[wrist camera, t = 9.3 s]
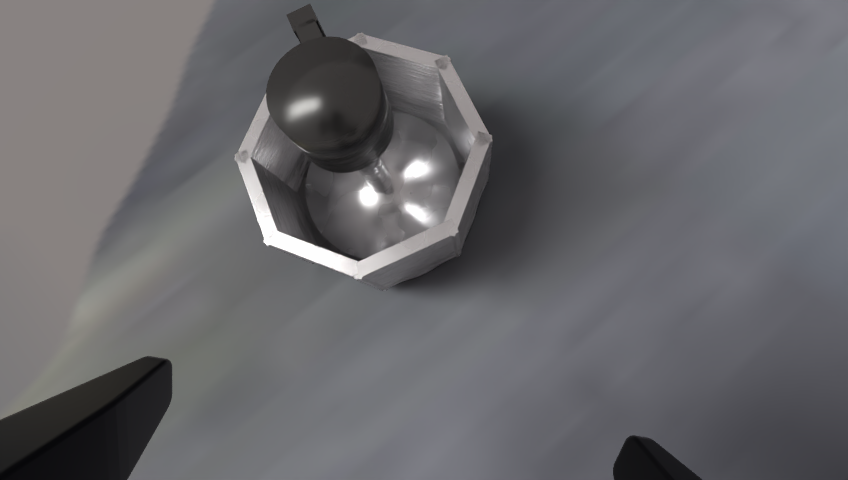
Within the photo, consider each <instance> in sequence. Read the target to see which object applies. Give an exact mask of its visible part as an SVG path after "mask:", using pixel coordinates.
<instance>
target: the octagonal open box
mask: <svg viewBox="0 0 848 480" xmlns="http://www.w3.org/2000/svg"><path fill="white" fill-rule="evenodd" d="M287 17H288V19H289V22H290V24H291V26H292V29H293V31H294V33H295V34H296V36H297V38H298V39H299V41H300V43H303V42H305V41H308V40H311V39H315V38H320V37H326V35H325V33H324V31H323V29H322V27H321V25H320V23H319V21H318V19H317V17H316V15H315V13H314V11H313V9H312V7H311V5H310V4H308V5H306V6H304V7H302V8H300V9H298V10H296V11H294V12H292V13H289V14H287ZM348 40H349V41H352V42H354V43H356V44H357V45H359V46H360V47H361V48H363V49H364V50H365V51H366V52H367V53H368V54H369V56H370V57H371V58H372V60H373V62H374V64H375V66H376V69H377V72H378V74H379V77H380V80H381V83H382V85H383V88H384V91H385V93H386V96H387V99H388V102H389V104H390V107H391V110H392V111H397V112H403V113H407V114H411V115H413V116H416V117H418V118H421V119H422V120H424V121H426V122H428V123H429V124H430V125H432V126H433V127H434V128H436V129H437V130H438V131H439V132H440V133H441V134H442V135H443V137H444V138H445V139H446V141H447V142H448V144H449V145H450V147H451V149H452V151H453V153H454V156H455V159H456V162H457V166H458V171H459V183H458V185H457V188H456V191H455V193H454V196H453V199H452V201H451V204H450V206H449V209H448V212H447V214H446V217H445V220H444V222H443V223H441V224H439V225H437V226H435V227H432V228H430V229H428V230H426V231H424V232H422V233H419V234H417V235H415V236H413V237H411V238H409V239H407V240H404V241H402V242H400V243H398V244H396V245H394V246H391V247H389V248H387V249H385V250H383V251H381V252H378V253H376V254H374V255H372V256H370V257H368V258H365V259H360V258H357V257H354V256H351V255H349V254H347V253H345V252H343V251H341V250H340V249H338V248H337V247H335V246H334V245H333V244H331V243H330V242H329V241H328V240H327V239H326V238H325V237H324V236H323V235H322V234H321V233H320V231H319V230H318V229H317V227H316V226H315V224H314V222H313V220H312V218H311V215H310V213H309V210H308V206H307V201H306V178H307V173H308V169H309V166H310V163H311V160H310V159H309V158H308V157H307V156H306V155H305V154H304V153H303V152H302V151H301V150H300V149H299V148H298V147H297V146H296V145H295V144H294V143H293V142H292V141H291V140H290V138H289V137H288V136H287V135H286V134H285V133H284V132H283V131H282V130H281V129H280V128H279V127H278V126H277V125H276V123H275V122H274V121H273V119H272V117H271V115H270V113H269V111H268V107H267V102H266V94H265V96H264V98H263V101H262V103H261V105H260V107H259V109H258V111H257V113H256V115H255V117H254V119H253V122H252V124H251V126H250V128H249V130H248V132H247V134H246V136H245V138H244V140H243V143H242V145H241V147H240V149H239V151H238V153H237V154H235V159H234V160H235V161H237V163H238V166H239V168H240V171H241V174H242V177H243V180H244V182H245V185H246V188H247V191H248V194H249V196H250V199H251V202H252V205H253V208H254V210H255V213H256V216H257V219H258V222H259V224H260V227H261V230H262V233H263V236H264V238H265V239H264V242H265V243H266V244H267V246H269V247H271V248H274V249H276V250H279V251H281V252H284V253H287V254H289V255H292V256H294V257H297V258H299V259H302V260H304V261H307V262H309V263H312V264H315V263H317V264H319V265H322V266H324V267H327V268H330V269H332V270H335V271H337V272H340V273H343V274H345V275H348V276H350V277H353V278H355V280H357V281H360V282H362V283H365V284H367V285H370V286H372V287H374V288H377V289H379V290H382V291H383V290H388V288H389V287H392V286H394V285H396V284H398V283H400V282H402V281H406V280H410V279H413V278H416V277H418V276H421V275H424V274H426V273H427V272H429V271H431V270H433V269H435V268H436V267H438V266H439V265H440V264H442V263H444V262H446V261H448V260H450V259H452V258H455V257H458V258H459V255H461V254H462V252H461V250H462V247H463V244H464V242H465V239H466V236H467V234H468V232H469V230H470V228H471V225H472V223H473V221H474V217H475V214H476V211H477V206H478V204H479V201H480V198H481V195H482V193H483V190H484V187H485V185H486V184H487V183H488V178H489V169H490V161H491V152H492V143H493V140H492V135H490V134H489V133H488V131H487V129H486V127H485V125H484V124H483V122H482V120H481V118H480V116H479V114H478V112H477V110H476V109H475V107H474V105H473V103H472V101H471V99H470V97H469V96H468V94H467V92H466V90H465V88H464V86H463V84H462V82H461V81H460V79H459V77H458V75H457V73H456V71H455V69H454V67H453V66H452V64H451V58H449V57H448V56H447V55H446V56H441V55H438V54H434V53H430V52H426V51H423V50H419V49H415V48H411V47H408V46H404V45H400V44H396V43H393V42H389V41H385V40H381V39H378V38H374V37H370V36H367V35H364V34H363V33H360V34H359V33H357V35H356V36H354V37H352V38H350V39H348Z"/></svg>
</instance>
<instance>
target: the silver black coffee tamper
mask: <svg viewBox="0 0 848 480" xmlns="http://www.w3.org/2000/svg"><path fill="white" fill-rule="evenodd" d="M266 102H267V107H268V111H269V113H270V115H271V117H272V119H273V121H274V122H275V123H276V125H277V126H278V127H279V128H280V129H281V130H282V131H283V132H284V133H285V134H286V135H287V136H288V137H289V138H290V140H291V141H292V142H293V143H294V144H295V145H296V146H297V147H298V148H299V149H300V150H301V151H302V152H303V153H304V154H305V155H306V156H307V157H308V158H309V159H310V160H311V163H310V166H309V169H308V173H307V178H306V201H307V206H308V210H309V213H310V215H311V218H312V220H313V222H314V224H315V226H316V227H317V229H318V230H319V231H320V233H321V234H322V235H323V236H324V237H325V238H326V239H327V240H328V241H329V242H330V243H331V244H333V245H334V246H335V247H337V248H338V249H340V250H341V251H343V252H345V253H347V254H349V255H351V256H354V257H357V258H360V259H365V258H368V257H370V256H372V255H374V254H376V253H378V252H381V251H383V250H385V249H387V248H389V247H391V246H394V245H396V244H398V243H400V242H402V241H404V240H407V239H409V238H411V237H413V236H415V235H417V234H419V233H422V232H424V231H426V230H428V229H430V228H432V227H435V226H437V225H439V224H441V223H443V222H444V220H445V217H446V214H447V212H448V209H449V206H450V204H451V201H452V199H453V196H454V193H455V191H456V188H457V185H458V183H459V171H458V166H457V162H456V159H455V156H454V153H453V151H452V149H451V147H450V145H449V144H448V142H447V141H446V139H445V138H444V137H443V135H442V134H441V133H440V132H439V131H438V130H437V129H436V128H434V127H433V126H432V125H430V124H429V123H428V122H426V121H424V120H422V119H421V118H418V117H416V116H413V115H411V114H407V113H403V112H397V111H392V110H391V107H390V104H389V102H388V99H387V96H386V93H385V91H384V88H383V85H382V83H381V80H380V77H379V74H378V72H377V69H376V66H375V64H374V62H373V60H372V58H371V57H370V56H369V54H368V53H367V52H366V51H365V50H364V49H363V48H361V47H360V46H359V45H357V44H356V43H354V42H352V41H349V40H347V39H343V38H339V37H320V38H315V39H311V40H308V41H305V42H303V43H301V44H299V45H297V46H296V47H294V48H292V49H291V50H290V51H289V52H287V53H286V54H285V55H284V56H283V57H282V58H281V59H280V60H279V62H278V63H277V64H276V66H275V67H274V69H273V71H272V73H271V75H270V77H269V81H268V84H267V89H266Z"/></svg>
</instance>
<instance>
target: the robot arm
mask: <svg viewBox="0 0 848 480" xmlns="http://www.w3.org/2000/svg"><path fill="white" fill-rule="evenodd" d="M171 398H172V364H171V362H170V360H168V359H164V358H158V357H152V356H147V357H143V358H141V359H138V360H136V361H134V362H131V363H129V364H127V365H125V366H122V367H120V368H118V369H115V370H113V371H111V372H109V373H106V374H104V375H102V376H99V377H97V378H95V379H92V380H90V381H88V382H86V383H83V384H81V385H79V386H76V387H74V388H72V389H70V390H67V391H65V392H63V393H60V394H58V395H56V396H54V397H51V398H49V399H47V400H44V401H42V402H40V403H38V404H35V405H33V406H31V407H28V408H26V409H24V410H21V411H19V412H17V413H15V414H12V415H10V416H8V417H5V418H3V419H1V420H0V480H127V479H128V478H129V476H130V474H131V472H132V471H133V469H134V467H135V465H136V464H137V462H138V460H139V458H140V457H141V455H142V453H143V451H144V449H145V448H146V446H147V444H148V442H149V441H150V439H151V437H152V435H153V434H154V432H155V430H156V428H157V427H158V425H159V423H160V421H161V419H162V418H163V416H164V414H165V412H166V411H167V409H168V407H169V405H170V402H171ZM613 476H614V480H702V479H701V478H700V477H698V476H697V475H696V474H695V473H693V472H692V471H691V470H690V469H688V468H687V467H686V466H685V465H683V464H682V463H681V462H680V461H679V460H677V459H676V458H675V457H674V456H672V455H671V454H670V453H669V452H667V451H666V450H665V449H664V448H662V447H661V446H660V445H659V444H657V443H656V442H655V441H654V440H652V439H650V438H646V437H640V436H629V437H628V438H627V439H626V441H625V443H624V445H623V447H622V449H621V451H620V453H619V455H618V457H617V459H616V461H615V463H614V467H613Z"/></svg>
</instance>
